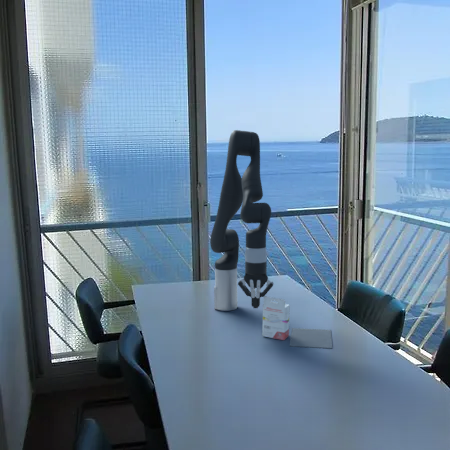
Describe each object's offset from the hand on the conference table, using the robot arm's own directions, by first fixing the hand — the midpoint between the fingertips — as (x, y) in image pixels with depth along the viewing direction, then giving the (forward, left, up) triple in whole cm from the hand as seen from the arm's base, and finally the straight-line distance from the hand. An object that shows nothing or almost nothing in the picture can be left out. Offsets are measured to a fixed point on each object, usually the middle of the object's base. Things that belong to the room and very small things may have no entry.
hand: (255, 307), depth 177 cm
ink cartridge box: (+7, 0, -11) cm, 13 cm away
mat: (+19, 0, -10) cm, 22 cm away
